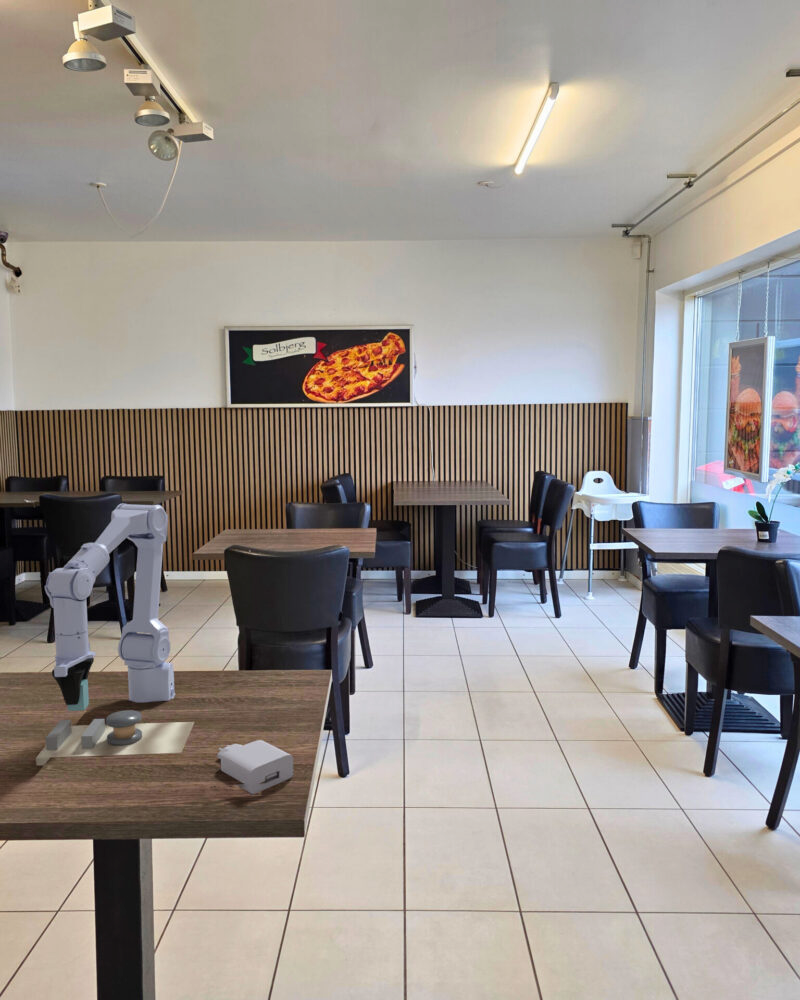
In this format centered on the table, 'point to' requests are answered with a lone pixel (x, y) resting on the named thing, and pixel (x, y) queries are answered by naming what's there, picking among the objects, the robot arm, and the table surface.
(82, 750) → the board
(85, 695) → the peg
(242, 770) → the charger
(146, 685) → the robot arm
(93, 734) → the gray parallel rails
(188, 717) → the table surface
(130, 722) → the bobbin
